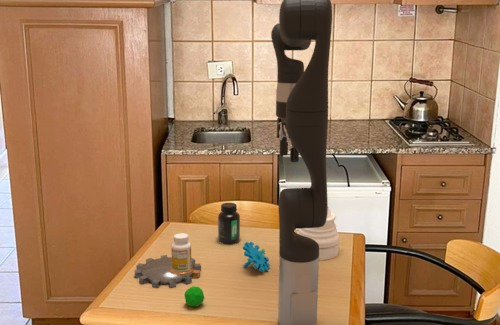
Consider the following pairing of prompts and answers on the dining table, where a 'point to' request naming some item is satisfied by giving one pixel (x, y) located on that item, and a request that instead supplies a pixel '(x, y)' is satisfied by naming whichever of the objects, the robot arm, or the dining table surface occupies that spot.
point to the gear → (256, 257)
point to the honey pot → (324, 237)
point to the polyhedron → (194, 296)
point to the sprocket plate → (165, 272)
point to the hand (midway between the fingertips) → (288, 158)
